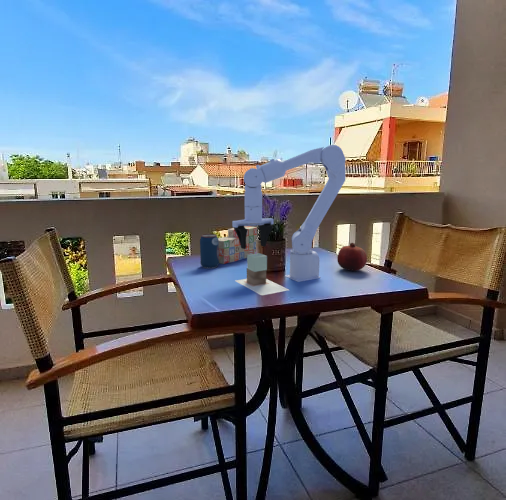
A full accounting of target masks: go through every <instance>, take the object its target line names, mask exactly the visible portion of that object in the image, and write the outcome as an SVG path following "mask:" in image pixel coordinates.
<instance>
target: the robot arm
mask: <svg viewBox="0 0 506 500" xmlns="http://www.w3.org/2000/svg"><path fill="white" fill-rule="evenodd" d="M309 163H312V164H321V165H322V166H323V167H324V169H325V171H326V175H327V178H328V179H327V181H326V183H325V184H324V187H323V188H322V190H321V192H320V194H319V195H318V197H317V199H316V201H315V203H314V204H313V206H312V208H311V210H310V212H309V213H308V215H307V217H306V218H305V220H304V221H303V223H302V224H301V225H300V226H299V228H298V229H297V230H296V231H295V232H294V233H293V234H292V236H291V246H292V248H291V249H290V250H289V274H285V275H284V277H286V278H288V279H290V280H292V281H295V282H297V283H299V282H305V281H311V280H315V279H321V276H320V256H319V254H318V252H317V251H314V250H312V246H313V241H314V238H315V236H316V233H317V231H318V229H319V227H320V225H321V223H322V221H323V219H324V218H325V216H326V215H327V212H328V211H329V209H330V207H331V206H332V205H333V202H334V201H335V199H336V197H337V196H338V194H339V192H340V190H341V188H342V187H343V185H344V184H345V182H346V179H347V177H346V156H345V154H344V152H343V150H342V148H341V147H340V146H338V145H336V144H330V145H328V146H326V147H324V146H323V147H319V148H318V147H317V148H314V149H310V150H307V151H305V152H302V153H301V154H298V155H296V156H293V157H291V158H288V159H286V160H280V159H279V158H277V159H274V158H271V159H269V162H266V163H264V164H261V165H259V164H257V165H255V168H253V167H251V168H250V169H247V170H246V171H245V173H244V174H243V182H244V184H245V185H244V219H239V220H232V222H231V223H232V228H234V230H235V232H236V233H237V236H238V238H239V241H240V245H241V248H242V249H246V235H247V230H248V229H245V226H251V227H257V226H258V229H259V234H260V246H261V247H264V248H265V247H266V246H267V242H268V239H269V235H270V233H271V232H272V230H273V225H274V221H275V220H274V218H271V217H269V218H268V217H267V218H263V191H262V184H263V183H265V184H267V183H270V182H272V181H275V180H277V179H281V178H283V177H284V176H285V174H286V173H287V171H289V170H293V169H295V168H298V167H301V166H303V165H307V164H309Z"/></svg>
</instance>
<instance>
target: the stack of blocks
mask: <svg viewBox="0 0 506 500" xmlns="http://www.w3.org/2000/svg"><path fill="white" fill-rule="evenodd" d="M244 227H245V229H248V230H247V235H246V249H242V248H241V245H240V241H239V238H238V236H237V233H236V232H235V230H234V227H232V228H228V229H227V236H224V237H217V238H218V241H219V264H222V265H225V264H228V263H233V262H237V261H240V260H244V259H247V255H250V254H255V252H256V238H257V227H258V226H244Z"/></svg>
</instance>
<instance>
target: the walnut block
mask: <svg viewBox="0 0 506 500" xmlns="http://www.w3.org/2000/svg"><path fill="white" fill-rule="evenodd" d="M246 279H247V282H248V283H250V284H252V285H259V284H265V283H266V279H267V270H263V271H257V272H254V271H251V270H249V269H247V268H246Z"/></svg>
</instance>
